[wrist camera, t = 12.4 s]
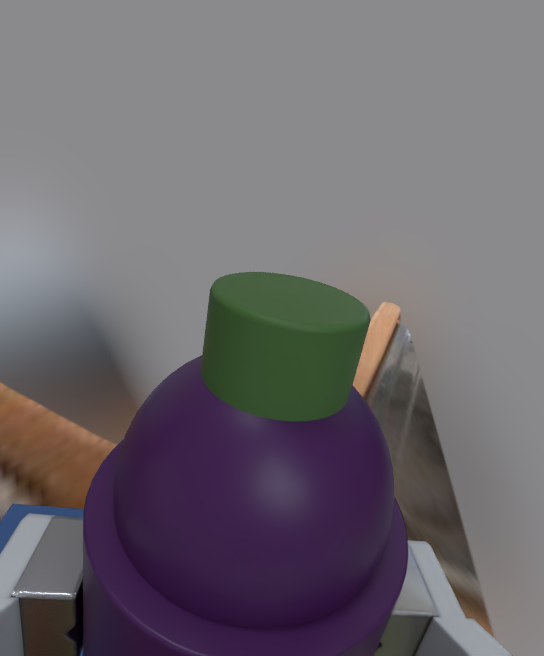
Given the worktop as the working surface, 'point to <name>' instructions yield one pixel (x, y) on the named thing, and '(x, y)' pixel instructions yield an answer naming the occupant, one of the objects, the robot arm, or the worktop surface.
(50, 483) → the worktop surface
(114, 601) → the purple bottle
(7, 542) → the robot arm
